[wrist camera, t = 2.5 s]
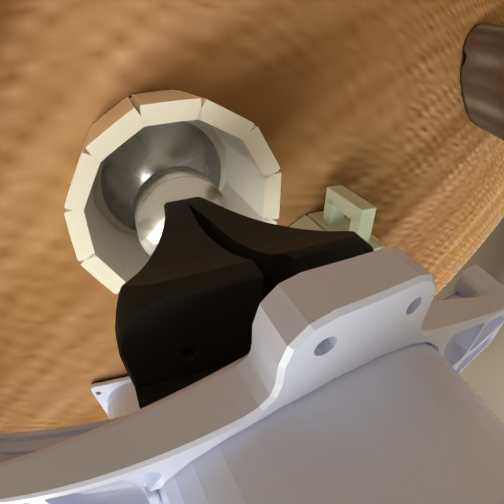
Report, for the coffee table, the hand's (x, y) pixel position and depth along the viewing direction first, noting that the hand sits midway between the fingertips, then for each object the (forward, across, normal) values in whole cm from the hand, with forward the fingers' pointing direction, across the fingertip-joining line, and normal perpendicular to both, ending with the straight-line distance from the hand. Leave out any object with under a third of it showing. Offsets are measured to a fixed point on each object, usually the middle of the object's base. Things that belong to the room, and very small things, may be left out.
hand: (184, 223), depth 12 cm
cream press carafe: (+6, 0, +1) cm, 7 cm away
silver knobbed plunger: (+6, 0, 0) cm, 6 cm away
